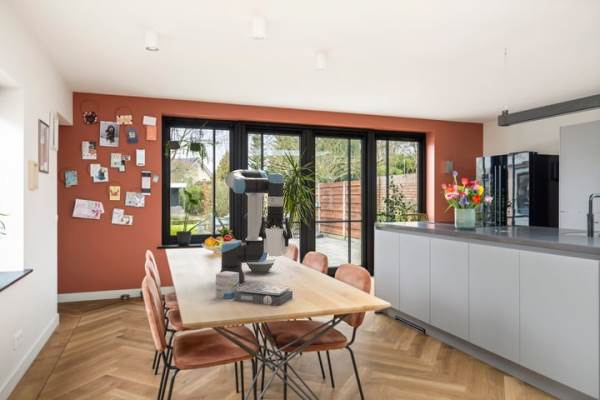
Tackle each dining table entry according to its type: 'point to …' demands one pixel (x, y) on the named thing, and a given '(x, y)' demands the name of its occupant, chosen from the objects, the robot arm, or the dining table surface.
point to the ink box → (227, 284)
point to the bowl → (262, 265)
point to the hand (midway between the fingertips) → (275, 252)
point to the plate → (263, 289)
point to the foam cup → (274, 241)
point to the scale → (263, 297)
